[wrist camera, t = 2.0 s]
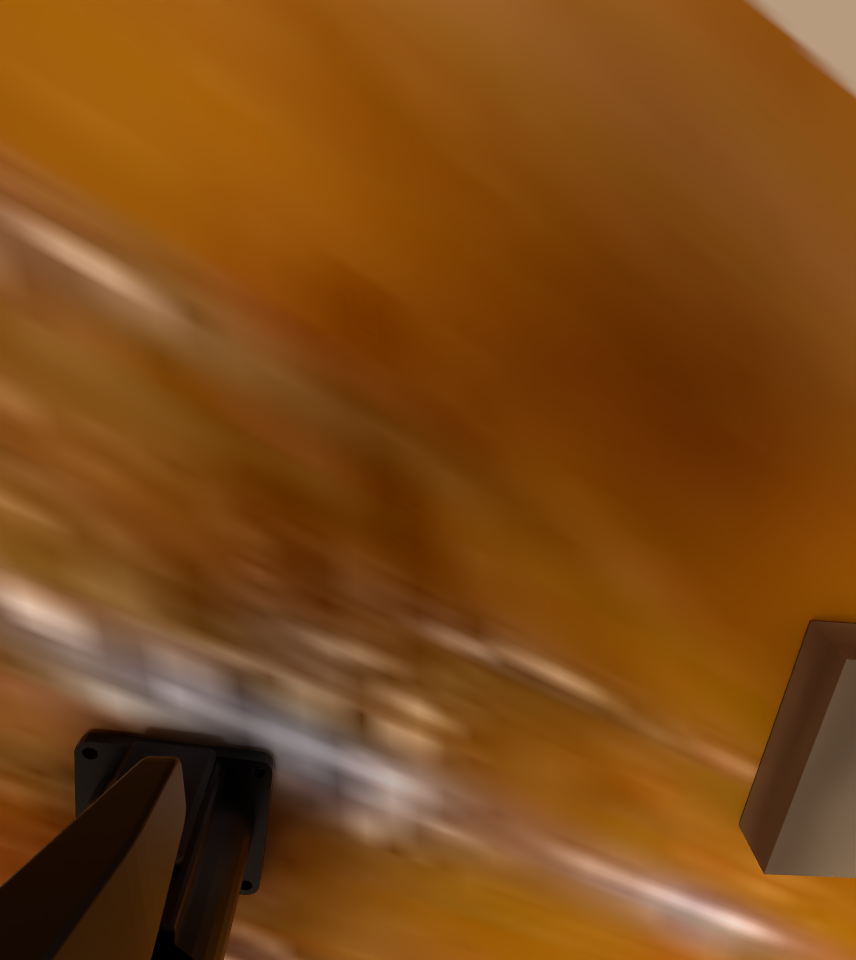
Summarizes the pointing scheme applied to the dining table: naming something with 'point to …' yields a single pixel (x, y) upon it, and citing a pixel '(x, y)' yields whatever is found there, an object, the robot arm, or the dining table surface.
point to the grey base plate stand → (810, 765)
